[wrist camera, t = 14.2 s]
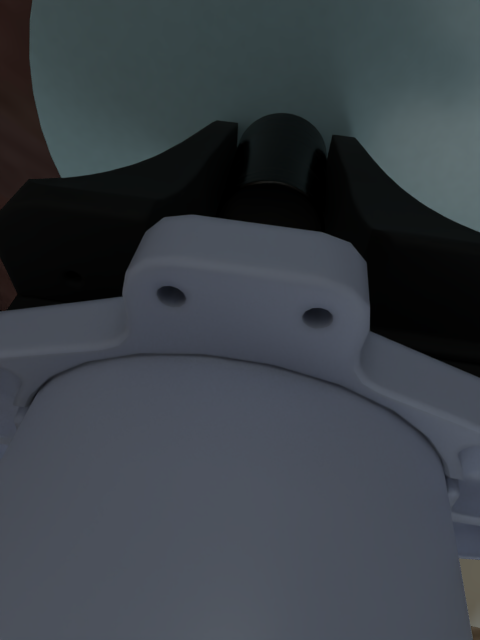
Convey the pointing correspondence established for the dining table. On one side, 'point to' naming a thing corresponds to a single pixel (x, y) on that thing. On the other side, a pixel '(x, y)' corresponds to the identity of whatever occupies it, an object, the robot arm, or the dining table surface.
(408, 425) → the robot arm
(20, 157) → the dining table surface
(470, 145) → the pot lid
